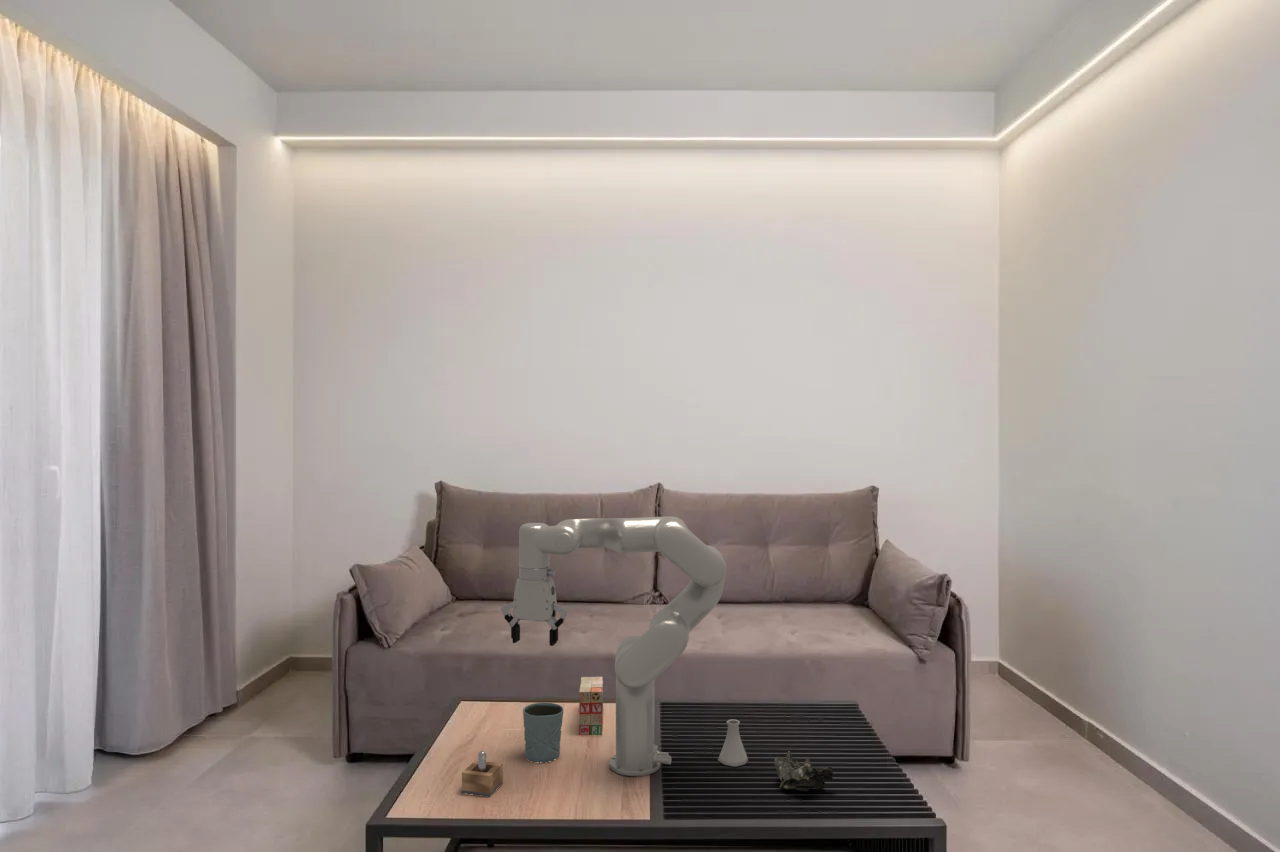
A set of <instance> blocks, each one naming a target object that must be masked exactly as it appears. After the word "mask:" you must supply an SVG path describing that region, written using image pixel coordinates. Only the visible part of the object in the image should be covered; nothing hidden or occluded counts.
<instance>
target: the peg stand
mask: <svg viewBox="0 0 1280 852" xmlns="http://www.w3.org/2000/svg"><path fill="white" fill-rule="evenodd" d="M477 756H478V757H477V761H478V772H486V762H487V753H486V751H484V750H481V751H479V752H478V755H477ZM501 784H502V785H503V781H502V782H501V783H500V784H499V785H498V786H497V787H496V788H495V789H494V790H493V791H492V792H491V793H490V794H489V793H481V792H472V791H464V790H462V789H461V794H462V793H467V794H466V795H469V794H473V795H472V796H477V795H482V796H481V797H485V796H488V797H487V798H490V797H492V795H494V793H496V791H497V790H498V789H499V788H500V787H501V786H502V785H501ZM500 785H501V786H500ZM499 786H500V787H499ZM498 787H499V788H498ZM497 788H498V789H497ZM496 789H497V790H496Z"/></svg>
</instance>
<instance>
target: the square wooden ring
mask: <svg viewBox="0 0 1280 852" xmlns="http://www.w3.org/2000/svg"><path fill="white" fill-rule="evenodd" d="M503 772H504V771H503V763H502V762H501V763H500V762H492V761H491V762H490V761H486V772H478V760H474V761H473V762H472V763H470V764H469V766H467V767H466V768H465V769H464V770H463V771H462V772H461V790H464V791H472V792H481V793H489V794H490V793H491V792H492V791H493V790H494V789H495V788H496V787H497V786H498V785H499V784H500V783H501V782H502V783H503V778H504V777H503V774H504V773H503Z"/></svg>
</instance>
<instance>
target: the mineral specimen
mask: <svg viewBox="0 0 1280 852" xmlns="http://www.w3.org/2000/svg"><path fill="white" fill-rule="evenodd" d="M773 762H774V766H775V768H776V772H777V773H776V774H777V777H778V778H779V780H780V781H781V782H780V783H779V784H780V785H779V788H780V789H781V788H784V789H786V790H788V789H790V790H791V789H794V790H798V791H802V792H807V791H809V790H812V789H814V790H815V789H817V790H818V789H824V788H825V787H826V786H827V783H825V782H829V781H833V780H835V779H834V776H835V775H834V774H833V773H834V771H833V768H832V767H831V766H826V767H824V768H822V769H819V768H817V767H812V766H813V765H812V762H811V759H810V758H805V760H804V762H802V763H801V764H800V762H799V761H798V760H797V759H796V760H794V758H793V756H792V753H791V751H790V750H788V751H787V753H786V756H785V757H781V756H776V757H775V758H774V761H773Z"/></svg>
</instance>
